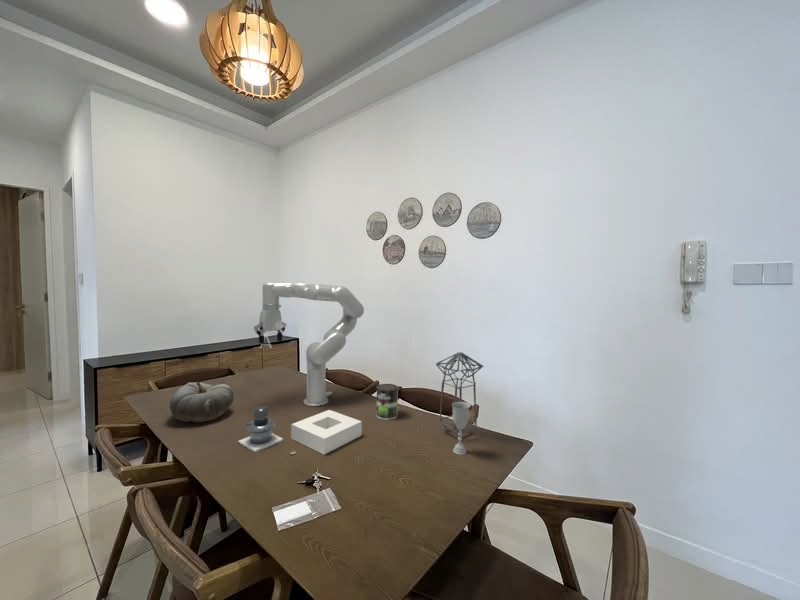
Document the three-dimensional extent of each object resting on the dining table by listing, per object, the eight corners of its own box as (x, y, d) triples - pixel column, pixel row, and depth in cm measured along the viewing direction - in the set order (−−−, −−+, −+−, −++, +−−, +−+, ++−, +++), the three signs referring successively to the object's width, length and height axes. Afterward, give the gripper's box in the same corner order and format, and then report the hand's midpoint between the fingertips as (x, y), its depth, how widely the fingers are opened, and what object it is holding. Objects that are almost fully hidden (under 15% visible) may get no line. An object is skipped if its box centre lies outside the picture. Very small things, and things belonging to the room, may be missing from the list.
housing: (329, 422, 152) (329, 409, 151) (361, 435, 140) (361, 421, 139) (291, 438, 136) (291, 424, 135) (324, 454, 124) (324, 438, 123)
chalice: (457, 457, 124) (458, 409, 123) (446, 449, 130) (447, 403, 129) (472, 453, 127) (474, 406, 126) (461, 445, 133) (463, 400, 132)
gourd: (177, 404, 163) (182, 370, 162) (233, 406, 172) (238, 374, 171) (160, 430, 140) (166, 391, 139) (225, 432, 149) (232, 395, 147)
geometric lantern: (457, 444, 133) (460, 358, 132) (431, 430, 146) (433, 351, 144) (483, 434, 143) (486, 353, 141) (457, 422, 155) (459, 347, 153)
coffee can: (392, 421, 154) (393, 391, 154) (372, 417, 158) (372, 388, 158) (400, 413, 164) (401, 385, 163) (381, 410, 168) (382, 382, 167)
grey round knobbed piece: (266, 431, 140) (266, 401, 140) (281, 438, 134) (281, 408, 133) (240, 440, 132) (240, 409, 131) (255, 449, 125) (255, 416, 124)
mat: (266, 432, 141) (266, 430, 141) (283, 440, 134) (283, 438, 134) (238, 442, 131) (238, 440, 131) (254, 452, 124) (254, 450, 124)
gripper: (281, 306, 174) (281, 339, 174) (249, 308, 160) (249, 343, 161) (290, 307, 169) (290, 341, 170) (258, 309, 155) (258, 345, 156)
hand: (270, 342), depth 165 cm, fingers open, 9 cm apart
